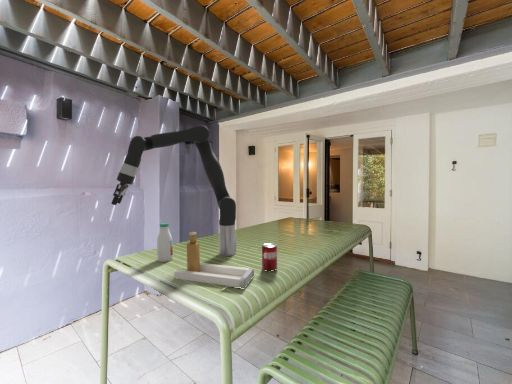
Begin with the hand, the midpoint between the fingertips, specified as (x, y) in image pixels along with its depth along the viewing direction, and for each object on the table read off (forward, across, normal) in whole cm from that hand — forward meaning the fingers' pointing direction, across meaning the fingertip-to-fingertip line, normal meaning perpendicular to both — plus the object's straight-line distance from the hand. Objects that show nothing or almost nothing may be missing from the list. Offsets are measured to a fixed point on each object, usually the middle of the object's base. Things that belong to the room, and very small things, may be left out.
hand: (115, 203), depth 121 cm
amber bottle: (+16, -27, -45) cm, 54 cm away
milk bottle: (+22, 0, -32) cm, 39 cm away
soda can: (+4, -30, -78) cm, 84 cm away
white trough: (+13, -33, -53) cm, 64 cm away
